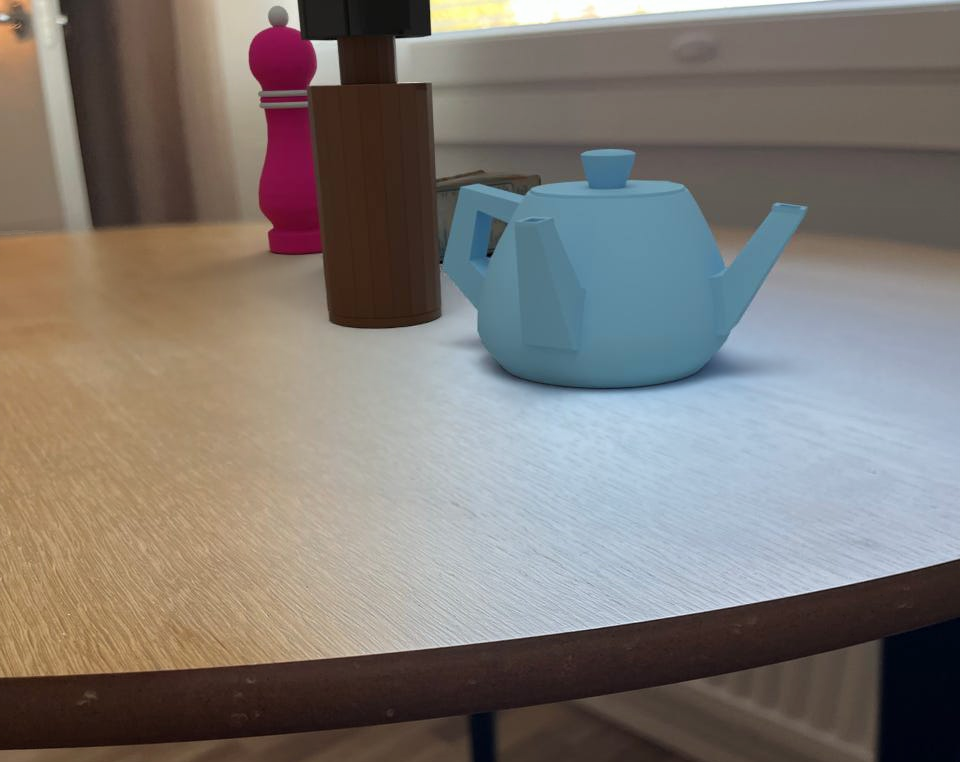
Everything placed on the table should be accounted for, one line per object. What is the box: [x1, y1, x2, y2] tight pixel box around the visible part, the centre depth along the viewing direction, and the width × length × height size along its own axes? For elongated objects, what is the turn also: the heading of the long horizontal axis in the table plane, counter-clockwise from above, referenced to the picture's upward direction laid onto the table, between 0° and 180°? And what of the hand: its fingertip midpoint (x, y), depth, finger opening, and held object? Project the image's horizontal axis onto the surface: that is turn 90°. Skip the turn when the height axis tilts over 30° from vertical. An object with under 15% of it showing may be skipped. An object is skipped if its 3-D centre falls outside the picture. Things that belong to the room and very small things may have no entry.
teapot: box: [441, 148, 809, 389], centre depth 55 cm, size 15×15×11 cm
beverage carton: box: [436, 169, 542, 262], centre depth 91 cm, size 8×19×7 cm, turn 125°
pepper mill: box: [248, 5, 322, 255], centre depth 94 cm, size 7×7×20 cm
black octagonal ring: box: [296, 0, 432, 42], centre depth 61 cm, size 8×8×4 cm
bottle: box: [306, 36, 442, 329], centre depth 66 cm, size 8×8×19 cm
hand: (365, 32), depth 62 cm, fingers closed on black octagonal ring, 8 cm apart
